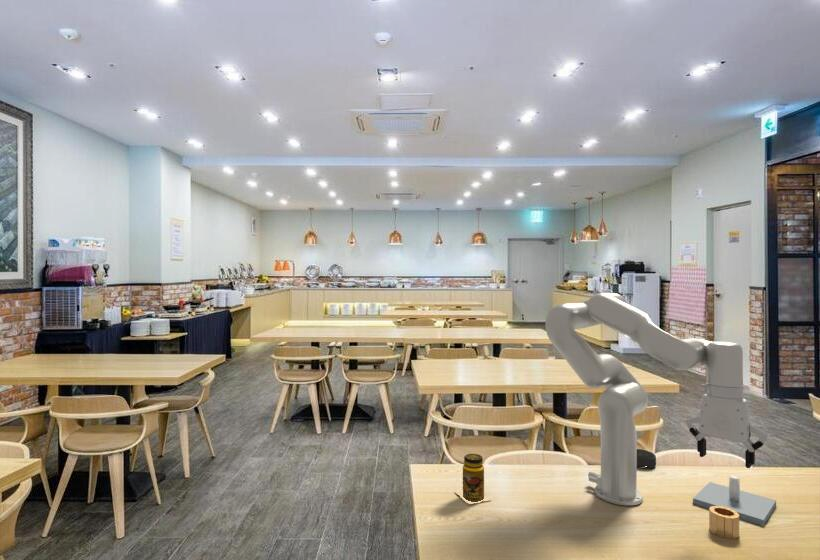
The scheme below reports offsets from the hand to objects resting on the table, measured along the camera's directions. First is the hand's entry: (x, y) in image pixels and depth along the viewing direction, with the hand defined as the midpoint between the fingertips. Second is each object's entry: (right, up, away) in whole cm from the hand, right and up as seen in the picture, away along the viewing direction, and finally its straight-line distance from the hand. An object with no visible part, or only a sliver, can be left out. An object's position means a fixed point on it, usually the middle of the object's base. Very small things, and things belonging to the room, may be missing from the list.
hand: (725, 461), depth 114 cm
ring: (0, -18, 0) cm, 18 cm away
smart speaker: (+1, -18, +43) cm, 47 cm away
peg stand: (+12, -18, +14) cm, 26 cm away
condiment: (-60, -18, +18) cm, 65 cm away
